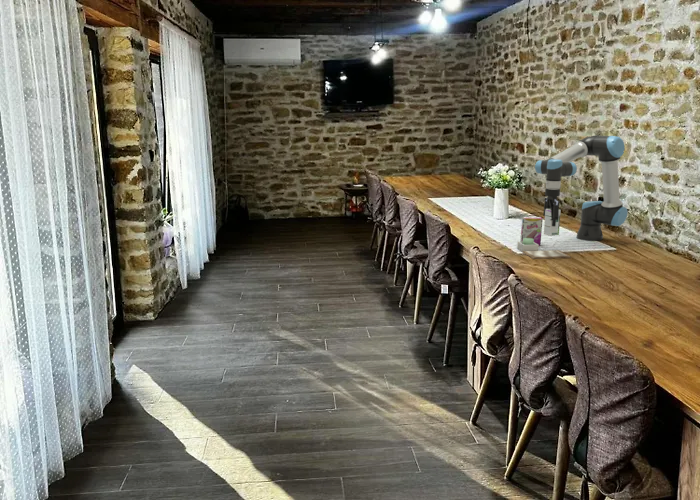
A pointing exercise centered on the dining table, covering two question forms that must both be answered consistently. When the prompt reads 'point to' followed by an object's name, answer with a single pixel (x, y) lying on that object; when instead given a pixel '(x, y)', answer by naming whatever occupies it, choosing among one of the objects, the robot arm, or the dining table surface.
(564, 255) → the drawing board
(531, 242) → the button
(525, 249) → the button housing
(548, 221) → the syrup box
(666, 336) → the dining table surface
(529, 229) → the candy bar box
